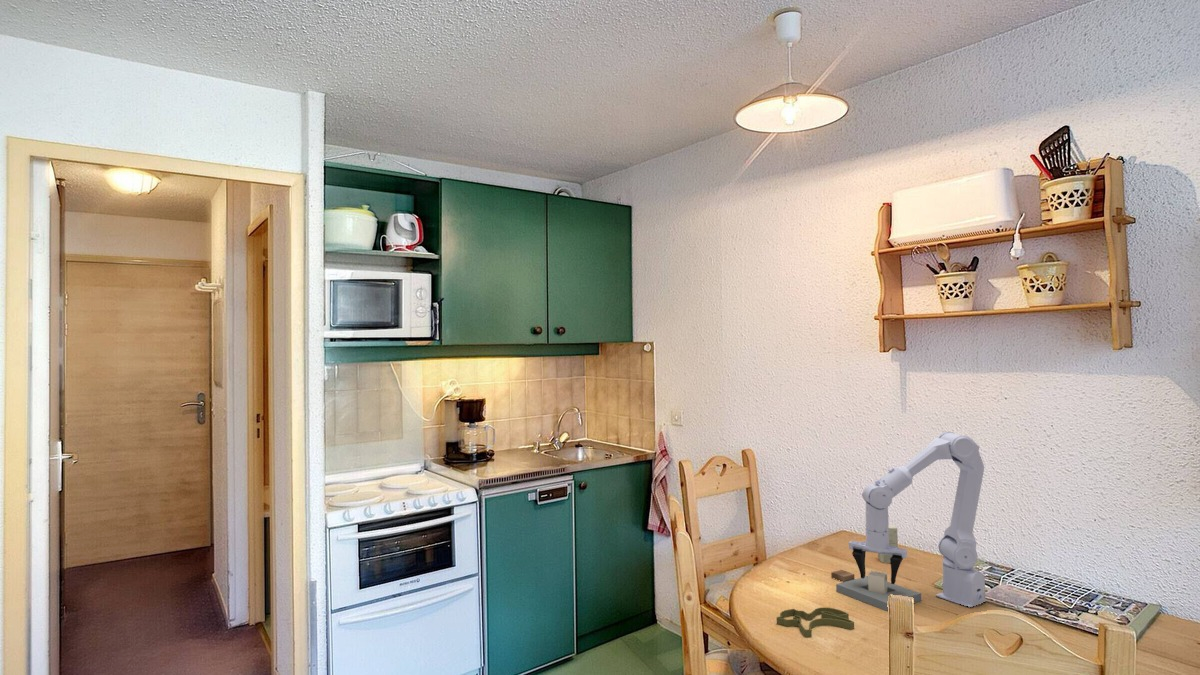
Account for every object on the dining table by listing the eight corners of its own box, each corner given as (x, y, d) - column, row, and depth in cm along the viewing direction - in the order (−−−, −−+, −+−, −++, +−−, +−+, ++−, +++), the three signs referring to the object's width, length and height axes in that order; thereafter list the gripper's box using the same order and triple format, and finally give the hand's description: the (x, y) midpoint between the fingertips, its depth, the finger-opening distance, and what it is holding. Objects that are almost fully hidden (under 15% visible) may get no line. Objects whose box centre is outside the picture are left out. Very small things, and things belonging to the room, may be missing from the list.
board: (921, 600, 170) (921, 593, 170) (887, 611, 163) (887, 603, 163) (869, 582, 184) (869, 575, 184) (836, 591, 177) (836, 584, 177)
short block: (854, 581, 186) (854, 574, 187) (844, 583, 184) (844, 576, 184) (841, 576, 190) (841, 569, 190) (831, 579, 188) (831, 572, 188)
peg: (887, 595, 174) (887, 573, 174) (884, 600, 171) (884, 577, 171) (871, 592, 176) (871, 570, 177) (868, 596, 173) (868, 574, 173)
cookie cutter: (799, 640, 147) (799, 632, 147) (769, 620, 158) (769, 612, 158) (862, 629, 153) (862, 621, 153) (829, 611, 164) (829, 603, 164)
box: (894, 559, 206) (893, 524, 206) (898, 563, 201) (898, 527, 202) (877, 558, 206) (876, 524, 206) (881, 562, 202) (881, 527, 202)
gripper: (909, 530, 173) (909, 581, 173) (853, 522, 182) (853, 570, 181) (904, 536, 168) (905, 588, 167) (846, 527, 176) (847, 577, 175)
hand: (878, 580), depth 174 cm, fingers open, 7 cm apart
